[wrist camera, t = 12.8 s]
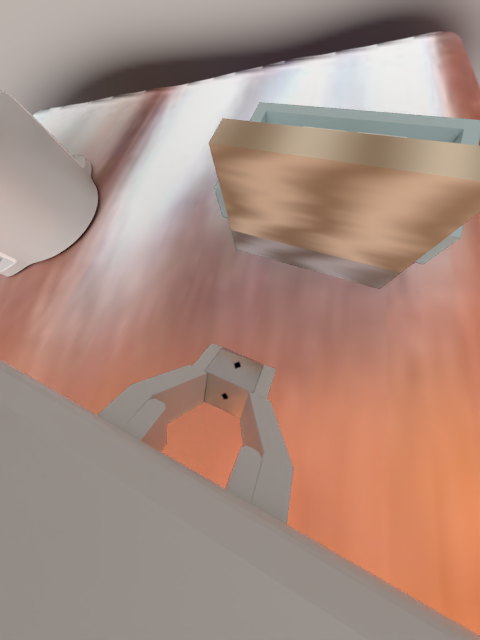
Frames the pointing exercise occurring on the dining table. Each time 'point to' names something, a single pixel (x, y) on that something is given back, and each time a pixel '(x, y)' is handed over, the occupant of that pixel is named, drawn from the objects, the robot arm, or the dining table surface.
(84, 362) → the dining table surface
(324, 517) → the dining table surface
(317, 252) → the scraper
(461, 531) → the dining table surface
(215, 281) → the dining table surface
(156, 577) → the robot arm
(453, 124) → the tray
